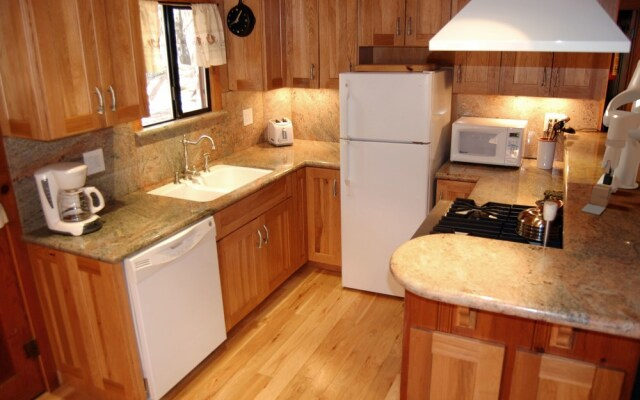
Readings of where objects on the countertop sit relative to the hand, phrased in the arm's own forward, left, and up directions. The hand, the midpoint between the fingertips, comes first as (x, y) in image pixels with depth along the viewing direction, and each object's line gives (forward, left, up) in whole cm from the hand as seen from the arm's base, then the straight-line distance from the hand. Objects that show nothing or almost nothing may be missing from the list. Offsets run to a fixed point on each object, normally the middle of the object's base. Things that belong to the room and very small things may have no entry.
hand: (606, 184), depth 221 cm
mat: (+17, 0, -7) cm, 18 cm away
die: (-12, -1, -7) cm, 14 cm away
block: (+8, 0, -7) cm, 11 cm away
